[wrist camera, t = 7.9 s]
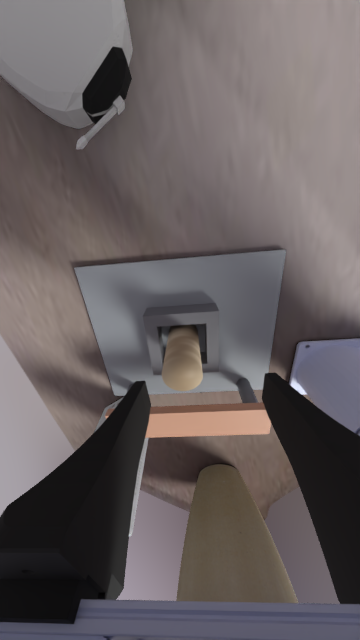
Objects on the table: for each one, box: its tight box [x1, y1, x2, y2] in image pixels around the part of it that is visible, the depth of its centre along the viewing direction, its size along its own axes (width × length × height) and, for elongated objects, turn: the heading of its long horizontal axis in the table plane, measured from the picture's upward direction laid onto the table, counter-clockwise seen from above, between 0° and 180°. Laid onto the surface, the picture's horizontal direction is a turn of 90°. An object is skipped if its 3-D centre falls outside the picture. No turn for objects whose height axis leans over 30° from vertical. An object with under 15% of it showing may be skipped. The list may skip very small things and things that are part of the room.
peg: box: [162, 324, 203, 391], centre depth 18 cm, size 3×3×7 cm
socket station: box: [74, 249, 286, 438], centre depth 19 cm, size 20×17×7 cm
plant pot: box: [177, 464, 298, 603], centre depth 27 cm, size 15×15×16 cm
